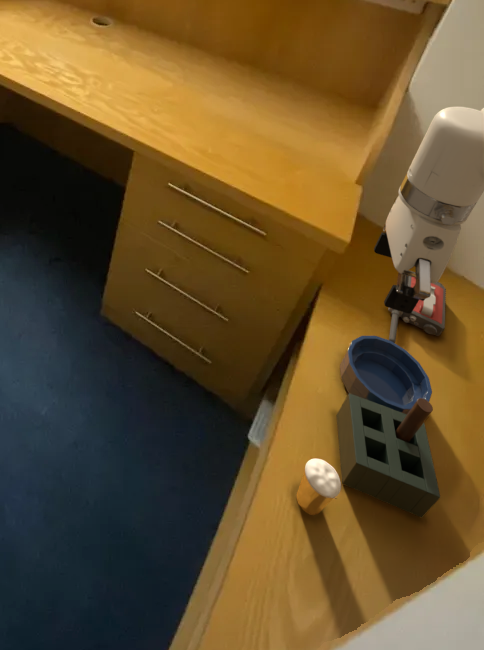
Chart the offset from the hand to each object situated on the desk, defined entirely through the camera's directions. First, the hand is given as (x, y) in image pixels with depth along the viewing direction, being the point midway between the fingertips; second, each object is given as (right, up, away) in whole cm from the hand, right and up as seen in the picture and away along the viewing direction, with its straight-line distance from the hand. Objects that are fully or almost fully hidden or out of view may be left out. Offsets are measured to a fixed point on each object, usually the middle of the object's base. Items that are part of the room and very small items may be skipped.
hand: (390, 280), depth 74 cm
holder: (+2, -32, +6) cm, 32 cm away
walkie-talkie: (+24, -19, +27) cm, 41 cm away
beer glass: (-11, -34, +1) cm, 36 cm away
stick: (+5, -31, +7) cm, 32 cm away
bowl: (+9, -26, +15) cm, 31 cm away
